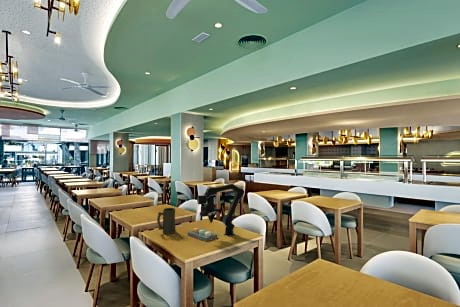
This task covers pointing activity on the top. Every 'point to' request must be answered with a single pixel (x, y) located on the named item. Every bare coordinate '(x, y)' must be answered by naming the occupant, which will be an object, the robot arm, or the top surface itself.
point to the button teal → (201, 232)
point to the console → (202, 236)
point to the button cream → (207, 234)
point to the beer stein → (167, 221)
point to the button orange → (196, 230)
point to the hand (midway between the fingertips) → (211, 222)
